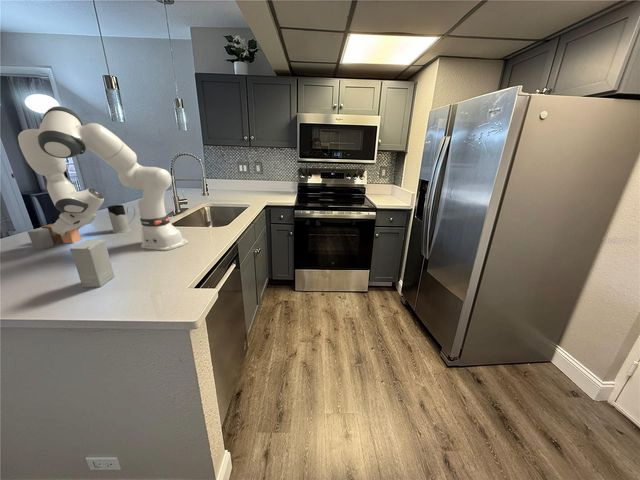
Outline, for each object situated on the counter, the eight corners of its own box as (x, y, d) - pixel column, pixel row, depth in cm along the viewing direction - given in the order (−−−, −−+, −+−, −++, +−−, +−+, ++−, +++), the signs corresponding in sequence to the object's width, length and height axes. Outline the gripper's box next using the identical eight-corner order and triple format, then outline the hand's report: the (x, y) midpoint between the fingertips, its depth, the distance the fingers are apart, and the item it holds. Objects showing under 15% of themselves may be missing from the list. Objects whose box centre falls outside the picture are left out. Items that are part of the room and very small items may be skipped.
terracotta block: (81, 240, 139) (76, 224, 136) (73, 243, 135) (67, 226, 132) (72, 239, 139) (66, 224, 136) (63, 243, 135) (57, 226, 132)
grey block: (54, 245, 132) (48, 228, 129) (44, 248, 127) (37, 231, 124) (44, 245, 132) (38, 228, 129) (34, 248, 127) (27, 231, 124)
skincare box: (97, 277, 101) (85, 239, 95) (117, 276, 101) (106, 238, 96) (80, 288, 93) (66, 247, 87) (102, 287, 93) (89, 247, 88)
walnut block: (65, 239, 139) (60, 223, 136) (56, 243, 135) (50, 226, 132) (56, 239, 139) (50, 223, 136) (47, 243, 135) (41, 226, 132)
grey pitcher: (109, 231, 153) (102, 207, 148) (135, 225, 165) (129, 202, 160) (117, 234, 149) (110, 208, 144) (143, 227, 161) (137, 204, 156)
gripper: (92, 205, 141) (80, 222, 144) (56, 215, 122) (43, 234, 125) (103, 213, 143) (90, 230, 146) (69, 224, 123) (55, 243, 127)
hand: (68, 232), depth 135 cm, fingers open, 6 cm apart
